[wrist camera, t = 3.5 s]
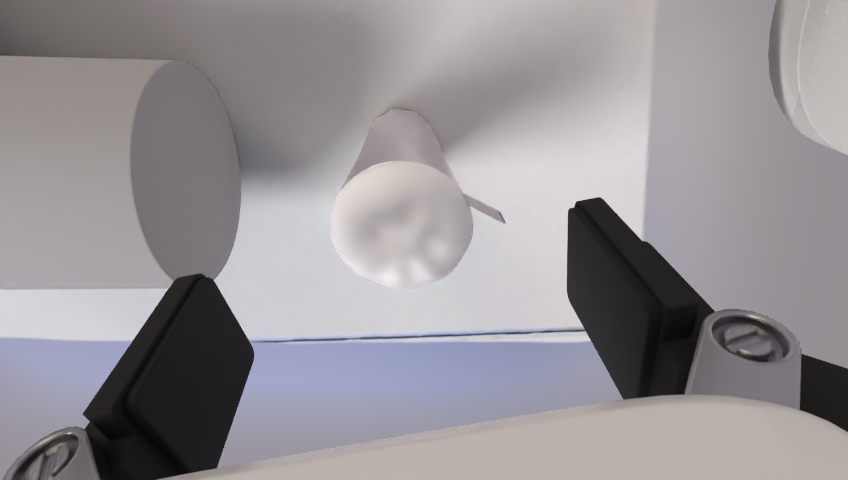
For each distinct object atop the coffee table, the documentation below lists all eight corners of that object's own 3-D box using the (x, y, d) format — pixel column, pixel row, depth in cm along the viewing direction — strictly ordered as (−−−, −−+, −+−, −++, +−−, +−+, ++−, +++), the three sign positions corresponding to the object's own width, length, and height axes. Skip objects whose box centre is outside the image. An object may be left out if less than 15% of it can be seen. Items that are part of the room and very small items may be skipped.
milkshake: (478, 150, 21) (533, 276, 12) (384, 199, 22) (376, 344, 13) (435, 64, 18) (466, 146, 10) (333, 124, 20) (285, 242, 11)
